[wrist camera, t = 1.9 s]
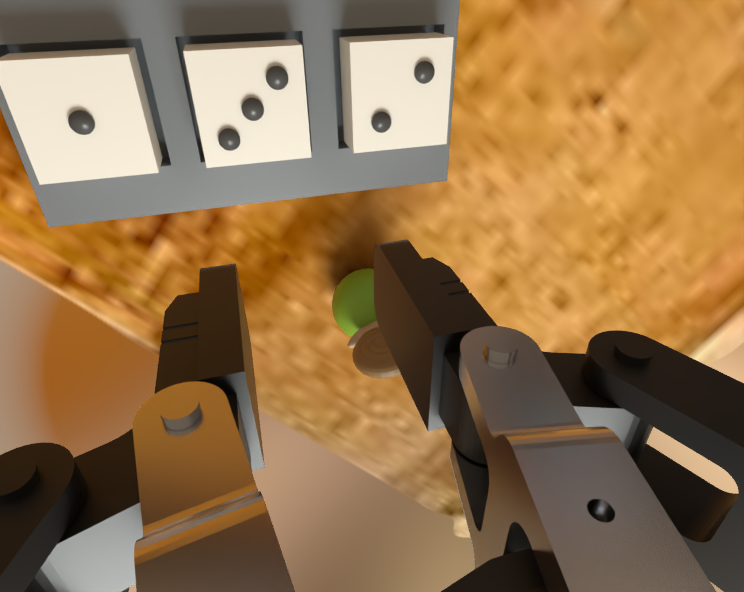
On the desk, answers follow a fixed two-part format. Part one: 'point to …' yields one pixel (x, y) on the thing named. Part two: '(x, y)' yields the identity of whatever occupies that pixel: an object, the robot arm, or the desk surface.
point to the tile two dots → (395, 90)
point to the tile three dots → (249, 101)
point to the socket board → (176, 108)
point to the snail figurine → (363, 325)
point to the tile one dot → (81, 113)
